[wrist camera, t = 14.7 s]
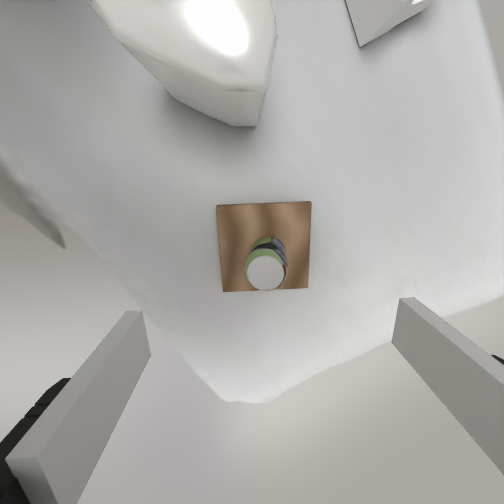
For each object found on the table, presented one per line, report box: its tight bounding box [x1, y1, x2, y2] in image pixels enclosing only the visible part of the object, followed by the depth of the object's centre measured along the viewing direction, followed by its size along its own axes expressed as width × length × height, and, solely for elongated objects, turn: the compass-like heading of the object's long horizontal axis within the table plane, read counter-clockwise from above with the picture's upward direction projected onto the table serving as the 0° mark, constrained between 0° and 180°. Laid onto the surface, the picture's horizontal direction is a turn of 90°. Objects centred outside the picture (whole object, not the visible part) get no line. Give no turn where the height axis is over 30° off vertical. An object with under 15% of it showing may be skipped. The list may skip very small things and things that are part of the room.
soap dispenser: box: [89, 0, 277, 126], centre depth 29 cm, size 15×14×22 cm
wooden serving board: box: [216, 201, 312, 292], centre depth 46 cm, size 16×16×4 cm
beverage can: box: [244, 237, 288, 291], centre depth 38 cm, size 6×7×12 cm
